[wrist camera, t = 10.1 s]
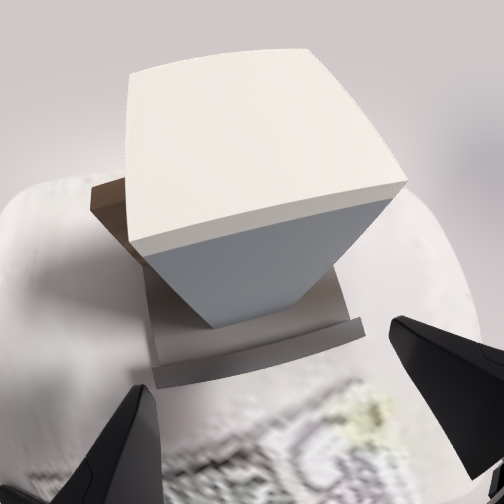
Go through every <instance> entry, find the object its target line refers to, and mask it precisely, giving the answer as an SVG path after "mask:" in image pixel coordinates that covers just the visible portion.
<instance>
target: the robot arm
mask: <svg viewBox="0 0 504 504" xmlns="http://www.w3.org/2000/svg"><path fill="white" fill-rule="evenodd" d="M389 340H390V342H391V344H392V346H393V348H394V349H395V351H396V353H397V355H398V357H399V359H400V361H401V363H402V365H403V367H404V368H405V370H406V372H407V373H408V375H409V376H410V378H411V379H412V381H413V382H414V384H415V385H416V387H417V389H418V390H419V392H420V393H421V395H422V396H423V398H424V399H425V401H426V403H427V404H428V406H429V407H430V409H431V411H432V412H433V414H434V415H435V417H436V419H437V420H438V422H439V424H440V425H441V427H442V429H443V430H444V432H445V434H446V435H447V437H448V439H449V440H450V442H451V444H452V445H453V448H454V449H455V451H456V453H457V455H458V456H459V458H460V460H461V462H462V464H463V465H464V467H465V469H466V471H467V473H468V475H469V477H470V478H471V480H472V481H473V480H474V479H476V478H477V477H478V476H480V475H481V474H482V473H484V472H485V471H486V470H488V469H489V468H490V467H492V466H493V465H494V464H495V463H497V462H498V461H499V460H500V459H501V460H502V461H503V462H502V463H501V464H500V465H499V466H498V467H497V468H496V469H495V470H494V471H493V475H492V481H491V486H490V490H489V494H488V496H489V497H490V499H491V500H490V501H489V502H488V503H487V504H504V351H503V350H500V349H496V348H493V347H490V346H486V345H484V344H481V343H477V342H475V341H472V340H469V339H466V338H464V337H461V336H458V335H455V334H452V333H450V332H447V331H444V330H441V329H438V328H436V327H433V326H430V325H427V324H425V323H422V322H419V321H416V320H413V319H411V318H408V317H405V316H398V317H396V318H393V319H392V321H391V325H390V331H389ZM49 504H164V500H163V487H162V471H161V445H160V434H159V427H158V419H157V411H156V403H155V399H154V397H153V396H152V394H151V393H150V391H149V390H148V388H147V387H146V385H144V384H140V385H134V386H133V387H132V388H131V389H130V391H129V392H128V394H127V395H126V397H125V398H124V399H123V401H122V402H121V404H120V405H119V407H118V408H117V410H116V411H115V413H114V414H113V416H112V417H111V419H110V420H109V422H108V423H107V424H106V426H105V427H104V429H103V430H102V432H101V433H100V435H99V436H98V438H97V439H96V441H95V442H94V444H93V445H92V447H91V449H90V450H89V452H88V453H87V455H86V458H84V459H83V461H82V462H81V464H80V465H79V467H78V468H77V469H76V471H75V472H74V474H73V475H72V476H71V478H70V479H69V480H68V482H67V483H66V484H65V485H64V486H63V488H62V489H61V490H60V491H59V492H58V494H57V495H56V496H55V497H54V498H53V500H52V501H51V502H50V503H49Z"/></svg>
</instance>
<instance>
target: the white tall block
mask: <svg viewBox="0 0 504 504" xmlns="http://www.w3.org/2000/svg"><path fill="white" fill-rule="evenodd" d="M128 87H129V88H128V97H127V111H126V112H127V113H126V132H125V191H126V212H127V226H128V238H129V243H130V244H131V245H132V246H133V247H134V248H135V249H136V250H137V251H138V253H139V254H140V255H141V256H142V257H143V258H144V259H145V260H146V261H147V262H148V263H149V265H150V266H151V267H152V268H153V269H154V270H155V271H156V272H157V273H158V274H159V275H160V276H161V277H162V278H163V279H164V280H165V281H166V282H167V283H168V284H169V285H170V287H171V288H172V289H173V290H174V291H175V292H176V293H177V294H178V295H179V296H180V297H181V298H182V299H183V300H184V301H185V302H186V303H187V304H188V305H190V306H191V307H192V308H193V309H194V310H195V311H196V312H197V313H198V314H199V315H200V316H201V317H202V318H203V319H204V320H205V321H206V322H207V323H208V324H209V325H210V326H211V327H213V328H214V329H218V328H222V327H226V326H230V325H233V324H237V323H241V322H245V321H248V320H252V319H256V318H259V317H263V316H266V315H270V314H273V313H277V312H280V311H284V310H287V309H289V308H290V307H292V306H293V305H294V304H295V303H296V302H297V301H298V300H299V299H300V298H301V297H302V296H303V295H304V294H305V293H306V292H307V291H308V290H309V289H310V288H311V287H312V286H313V285H314V284H315V283H316V282H317V281H318V280H319V279H320V278H321V277H322V276H323V275H324V274H325V273H326V272H327V271H328V270H329V269H330V268H331V267H332V266H333V265H334V264H335V262H336V261H337V260H338V259H339V258H340V257H341V256H342V255H343V254H344V253H345V252H346V251H347V250H348V249H349V248H350V247H351V246H352V244H353V243H354V242H355V241H356V240H357V239H358V238H359V237H360V236H361V235H362V234H363V232H364V231H365V230H366V229H367V228H368V227H369V226H370V225H371V224H372V222H373V221H374V220H375V219H376V218H377V217H378V216H379V215H380V213H381V212H382V211H383V210H384V209H385V208H386V206H387V205H388V204H389V203H390V202H391V201H392V199H393V198H394V197H395V196H396V195H397V194H398V192H399V191H400V190H401V189H402V188H403V186H404V185H405V184H406V183H407V182H408V179H407V177H406V175H405V174H404V172H403V171H402V169H401V167H400V165H399V164H398V162H397V161H396V159H395V157H394V156H393V154H392V153H391V151H390V150H389V148H388V147H387V145H386V144H385V142H384V141H383V139H382V138H381V136H380V135H379V133H378V132H377V131H376V129H375V128H374V126H373V125H372V124H371V122H370V121H369V119H368V118H367V117H366V115H365V114H364V113H363V111H362V110H361V109H360V108H359V106H358V105H357V104H356V103H355V101H354V100H353V99H352V98H351V96H350V95H349V94H348V93H347V91H346V90H345V89H344V88H343V87H342V86H341V84H340V83H339V82H338V81H337V80H336V79H335V77H333V75H332V74H331V73H330V72H329V71H328V70H327V69H326V68H325V66H324V65H323V64H322V63H321V62H320V61H319V60H318V59H317V58H316V57H315V56H314V55H313V54H312V53H311V52H310V51H309V50H308V49H268V50H252V51H241V52H232V53H224V54H216V55H210V56H203V57H198V58H193V59H187V60H182V61H178V62H173V63H169V64H164V65H161V66H156V67H153V68H149V69H146V70H142V71H139V72H135V73H132V74H130V77H129V86H128Z"/></svg>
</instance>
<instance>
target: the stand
mask: <svg viewBox="0 0 504 504" xmlns="http://www.w3.org/2000/svg"><path fill="white" fill-rule="evenodd" d="M90 211H91V212H92V213H93V214H94V215H95V216H96V218H97V219H98V220H99V221H100V222H101V223H102V224H103V225H104V226H105V227H106V229H107V230H108V231H109V232H110V233H111V234H112V235H113V236H114V237H115V238H116V239H117V240H118V241H119V242H120V243H121V244H122V246H123V247H124V248H125V249H126V250H127V251H128V252H129V253H130V254H131V255H132V256H133V257H134V258H135V259H136V260H137V261H138V262H139V263H140V264H141V265H142V266H143V271H144V279H145V287H146V294H147V301H148V308H149V314H150V320H151V326H152V332H153V337H154V342H155V347H156V352H157V357H158V362H159V366H160V367H157V368H152V370H153V374H154V379H155V383H156V387H157V389H161V388H168V387H175V386H182V385H188V384H194V383H200V382H205V381H211V380H216V379H221V378H226V377H230V376H235V375H239V374H244V373H248V372H252V371H256V370H260V369H264V368H268V367H272V366H276V365H279V364H283V363H286V362H290V361H293V360H297V359H300V358H303V357H307V356H310V355H313V354H316V353H319V352H322V351H325V350H328V349H331V348H334V347H337V346H340V345H343V344H346V343H348V342H351V341H354V340H357V339H359V338H362V337H364V336H366V335H365V332H364V328H363V325H362V322H361V318H360V317H358V318H355V319H352V320H350V317H349V313H348V310H347V307H346V304H345V300H344V297H343V294H342V291H341V288H340V285H339V282H338V279H337V276H336V273H335V270H334V267H333V266H332V267H331V268H330V269H329V270H328V271H327V272H326V273H325V274H324V275H323V276H322V277H321V278H320V279H319V280H318V281H317V282H316V283H315V284H314V285H313V286H312V287H311V288H310V289H309V290H308V291H307V292H306V293H305V294H304V295H303V296H302V297H301V298H300V299H299V300H298V301H297V302H296V303H295V304H294V305H293V306H292V307H290V308H289V309H287V310H284V311H280V312H277V313H273V314H270V315H266V316H263V317H259V318H256V319H252V320H248V321H245V322H241V323H237V324H233V325H230V326H226V327H222V328H218V329H214V328H213V327H211V326H210V325H209V324H208V323H207V322H206V321H205V320H204V319H203V318H202V317H201V316H200V315H199V314H198V313H197V312H196V311H195V310H194V309H193V308H192V307H191V306H190V305H188V304H187V303H186V302H185V301H184V300H183V299H182V298H181V297H180V296H179V295H178V294H177V293H176V292H175V291H174V290H173V289H172V288H171V287H170V285H169V284H168V283H167V282H166V281H165V280H164V279H163V278H162V277H161V276H160V275H159V274H158V273H157V272H156V271H155V270H154V269H153V268H152V267H151V266H150V265H149V263H148V262H147V261H146V260H145V259H144V258H143V257H142V256H141V255H140V254H139V253H138V251H137V250H136V249H135V248H134V247H133V246H132V245H131V244H130V243H129V238H128V226H127V212H126V191H125V177H124V178H121V179H118V180H114V181H111V182H108V183H105V184H101V185H98V186H95V187H92V190H91V203H90Z"/></svg>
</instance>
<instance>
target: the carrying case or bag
mask: <svg viewBox="0 0 504 504" xmlns="http://www.w3.org/2000/svg"><path fill="white" fill-rule="evenodd" d="M0 503H1V504H43V503H41V502H39V501H37V500H35V499H33V498H31V497H29V496H27V495H25V494H23V493H21V492H20V491H18V490H16V489H14V488H12V487H10V486H8V485H0Z"/></svg>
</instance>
